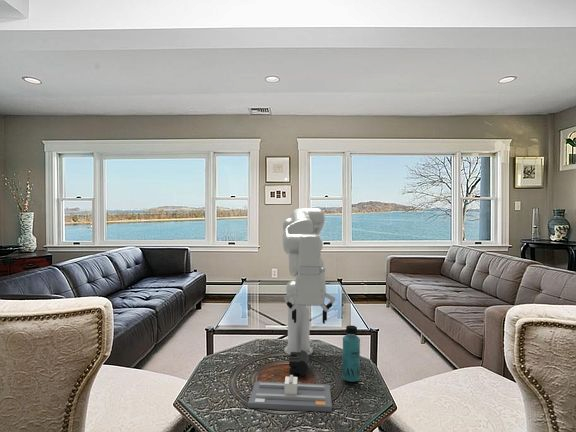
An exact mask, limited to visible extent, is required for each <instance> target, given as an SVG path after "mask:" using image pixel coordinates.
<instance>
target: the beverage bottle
mask: <svg viewBox="0 0 576 432" xmlns="http://www.w3.org/2000/svg"><path fill="white" fill-rule="evenodd" d="M345 333H347V334H346V335H344V336H343V337H342V358H341V359H342V362H341V364H342V365H341V376H342V379H343V380H344V381H348V382H357V381H359V379H360V375H361V374H360V373H361V365H360V359H361V358H360V357H361V355H360V354H361V348H360V347H361V344H360V343H361V339H360V337H359V336H358V335H356V334H358V327H357V326H356V325H346V327H345Z"/></svg>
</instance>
